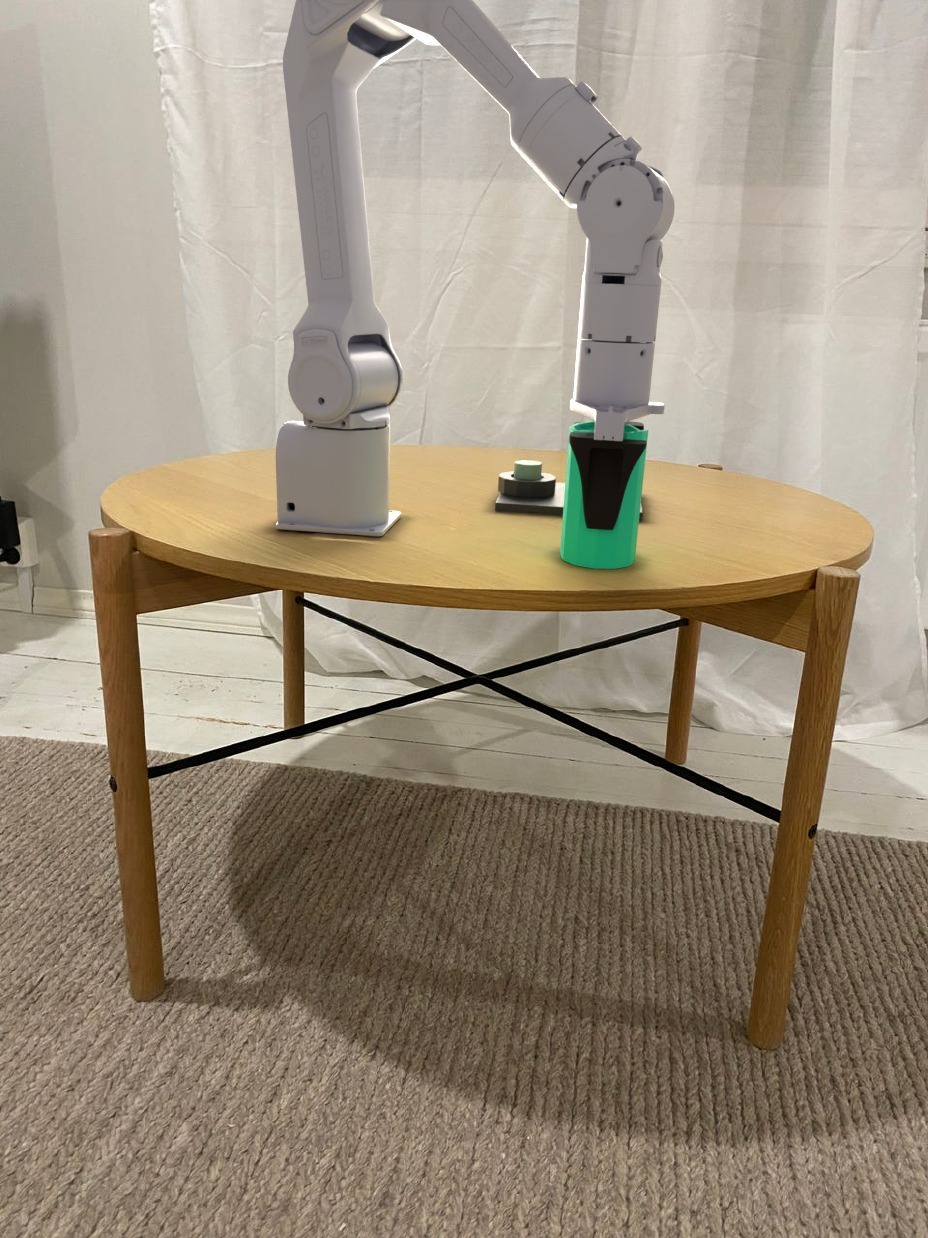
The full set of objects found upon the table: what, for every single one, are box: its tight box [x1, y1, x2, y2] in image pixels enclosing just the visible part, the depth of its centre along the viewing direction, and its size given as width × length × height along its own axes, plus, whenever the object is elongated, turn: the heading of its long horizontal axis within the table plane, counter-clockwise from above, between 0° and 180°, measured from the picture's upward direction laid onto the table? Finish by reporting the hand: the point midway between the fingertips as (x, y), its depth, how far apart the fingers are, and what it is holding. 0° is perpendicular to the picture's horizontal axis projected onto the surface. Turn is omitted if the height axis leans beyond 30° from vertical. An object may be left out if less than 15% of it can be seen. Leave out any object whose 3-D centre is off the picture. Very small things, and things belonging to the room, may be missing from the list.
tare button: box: [513, 459, 543, 480], centre depth 93 cm, size 3×3×2 cm
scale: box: [494, 470, 644, 522], centre depth 93 cm, size 14×12×2 cm
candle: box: [559, 420, 649, 570], centre depth 72 cm, size 6×6×12 cm
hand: (600, 519), depth 73 cm, fingers closed on candle, 5 cm apart
